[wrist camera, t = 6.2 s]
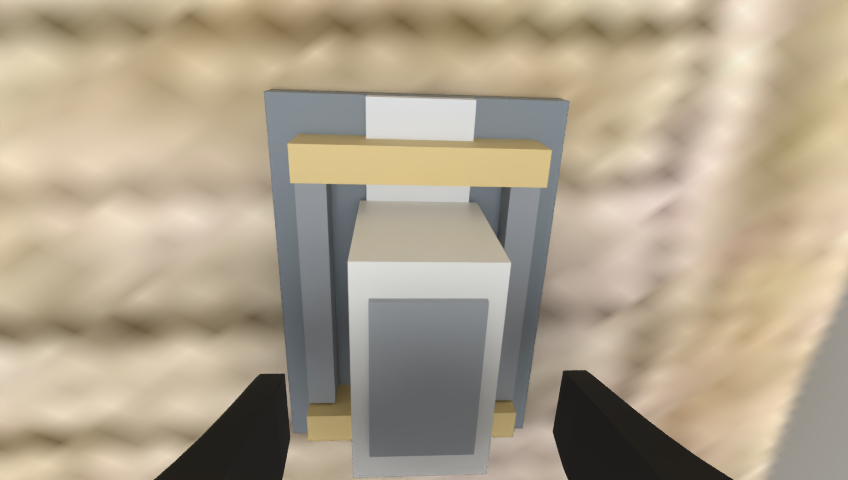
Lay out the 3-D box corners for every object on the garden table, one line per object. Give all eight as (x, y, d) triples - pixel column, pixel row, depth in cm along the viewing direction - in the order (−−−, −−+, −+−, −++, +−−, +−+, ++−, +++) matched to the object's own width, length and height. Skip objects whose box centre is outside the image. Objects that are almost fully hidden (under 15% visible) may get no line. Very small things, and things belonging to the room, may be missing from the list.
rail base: (516, 412, 22) (533, 460, 19) (297, 416, 21) (284, 467, 19) (559, 98, 17) (590, 107, 14) (271, 89, 16) (248, 96, 13)
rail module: (463, 370, 19) (487, 479, 14) (362, 371, 19) (352, 483, 14) (477, 202, 16) (513, 266, 11) (360, 200, 16) (347, 265, 11)
